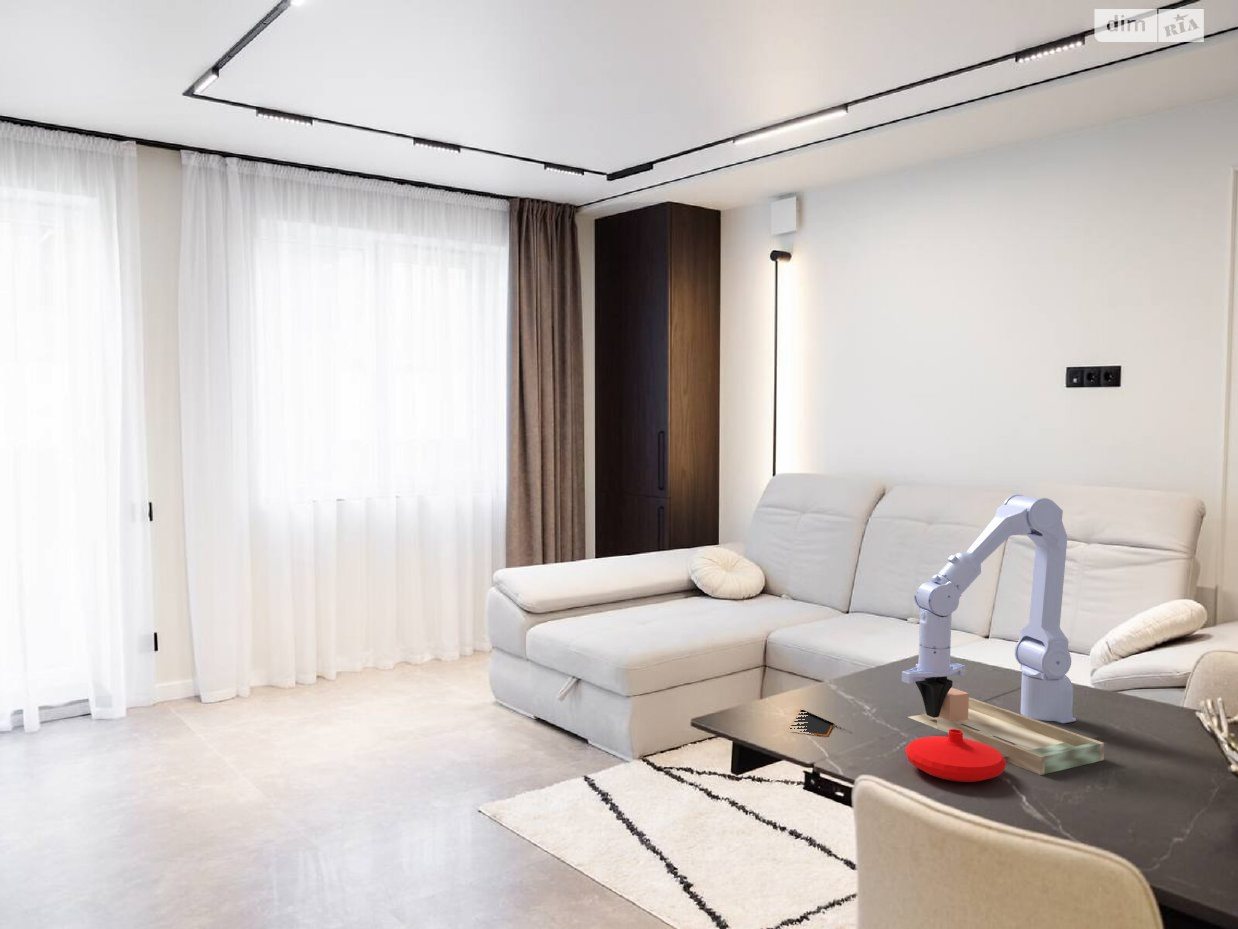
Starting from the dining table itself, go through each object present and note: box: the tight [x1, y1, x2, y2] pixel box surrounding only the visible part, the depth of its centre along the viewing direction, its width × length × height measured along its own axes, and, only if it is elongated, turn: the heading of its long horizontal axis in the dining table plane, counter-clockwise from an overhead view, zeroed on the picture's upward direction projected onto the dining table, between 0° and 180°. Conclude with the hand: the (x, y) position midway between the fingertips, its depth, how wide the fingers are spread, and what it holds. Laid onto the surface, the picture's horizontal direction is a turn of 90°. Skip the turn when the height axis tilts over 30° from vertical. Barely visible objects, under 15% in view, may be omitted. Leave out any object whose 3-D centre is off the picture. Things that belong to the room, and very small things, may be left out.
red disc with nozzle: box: [904, 729, 1007, 783], centre depth 155 cm, size 16×16×7 cm
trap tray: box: [907, 696, 1105, 776], centre depth 172 cm, size 16×30×3 cm, turn 27°
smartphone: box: [789, 709, 835, 738], centre depth 181 cm, size 8×17×1 cm, turn 158°
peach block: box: [936, 687, 970, 722], centre depth 182 cm, size 5×5×5 cm
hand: (932, 716), depth 180 cm, fingers closed
